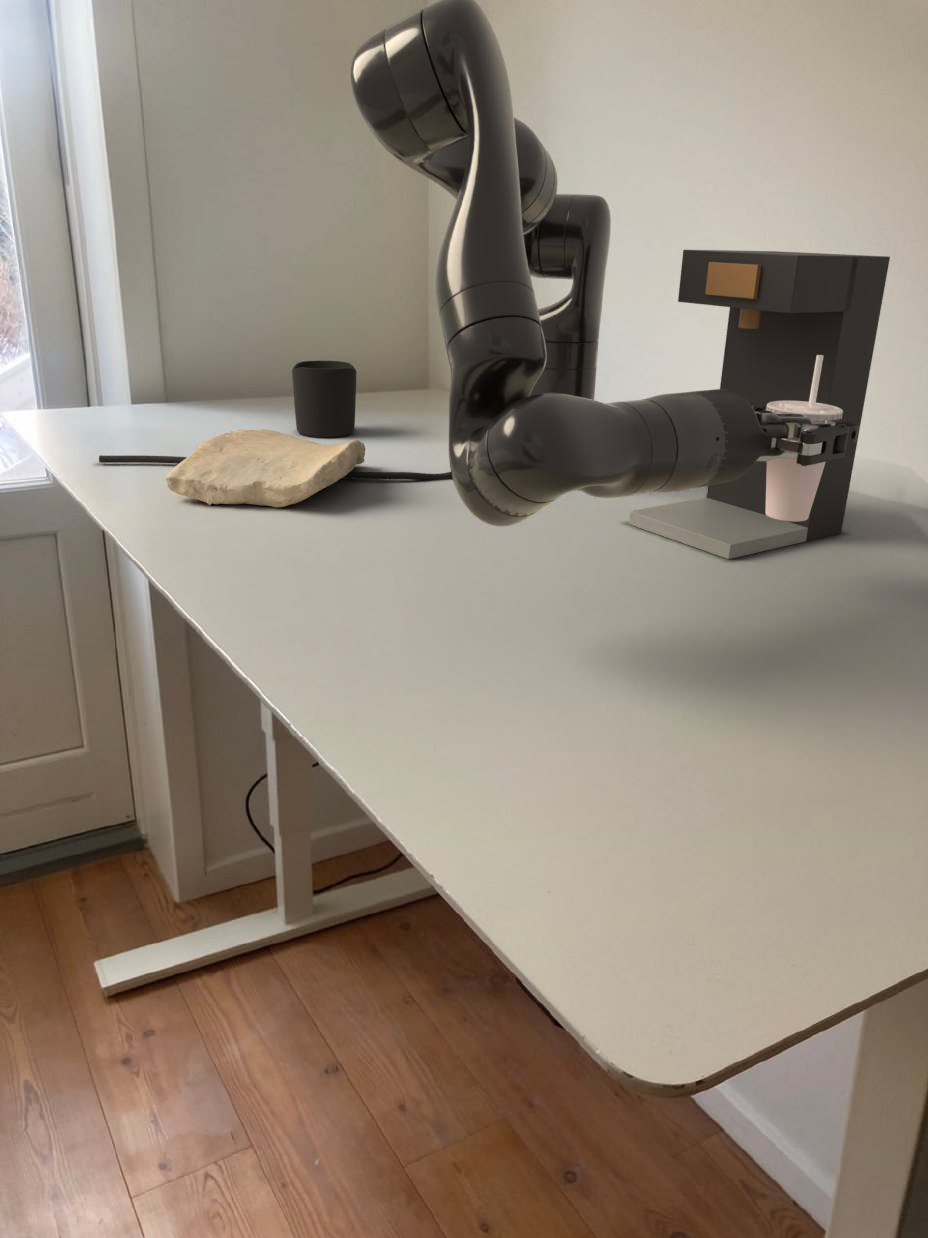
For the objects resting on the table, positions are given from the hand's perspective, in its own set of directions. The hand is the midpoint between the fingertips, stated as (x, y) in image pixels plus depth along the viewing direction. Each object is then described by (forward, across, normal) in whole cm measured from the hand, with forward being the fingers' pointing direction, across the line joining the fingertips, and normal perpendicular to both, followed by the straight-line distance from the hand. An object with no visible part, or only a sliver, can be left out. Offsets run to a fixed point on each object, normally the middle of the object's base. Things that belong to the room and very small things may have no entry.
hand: (817, 423), depth 87 cm
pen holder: (-7, +80, +15) cm, 82 cm away
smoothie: (-2, 0, +8) cm, 9 cm away
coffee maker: (+8, +14, +14) cm, 22 cm away
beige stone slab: (-26, +54, +15) cm, 62 cm away
